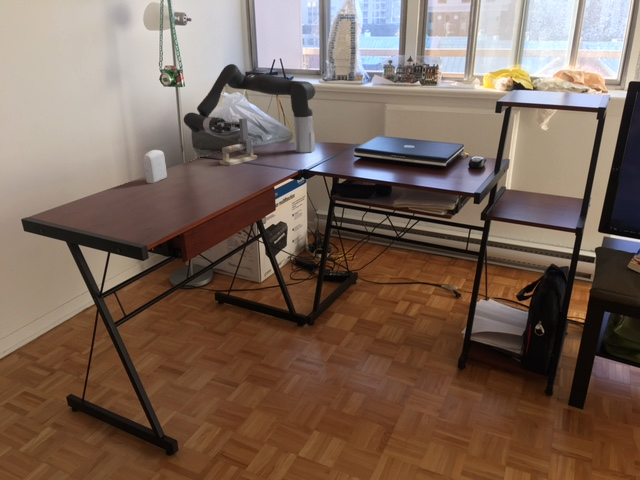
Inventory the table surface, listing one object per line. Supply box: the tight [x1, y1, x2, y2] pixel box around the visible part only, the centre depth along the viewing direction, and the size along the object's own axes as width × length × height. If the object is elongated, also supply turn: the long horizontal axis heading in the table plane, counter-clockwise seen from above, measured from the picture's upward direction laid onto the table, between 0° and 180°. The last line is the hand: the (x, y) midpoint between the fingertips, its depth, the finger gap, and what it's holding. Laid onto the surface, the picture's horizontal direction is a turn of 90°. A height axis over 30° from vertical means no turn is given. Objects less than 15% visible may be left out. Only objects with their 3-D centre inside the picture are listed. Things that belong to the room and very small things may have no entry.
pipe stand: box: [219, 141, 258, 166], centre depth 252 cm, size 17×7×8 cm, turn 140°
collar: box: [237, 117, 253, 154], centre depth 253 cm, size 3×6×16 cm, turn 50°
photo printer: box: [142, 149, 168, 184], centre depth 222 cm, size 10×4×12 cm, turn 160°
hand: (236, 127), depth 255 cm, fingers open, 8 cm apart
